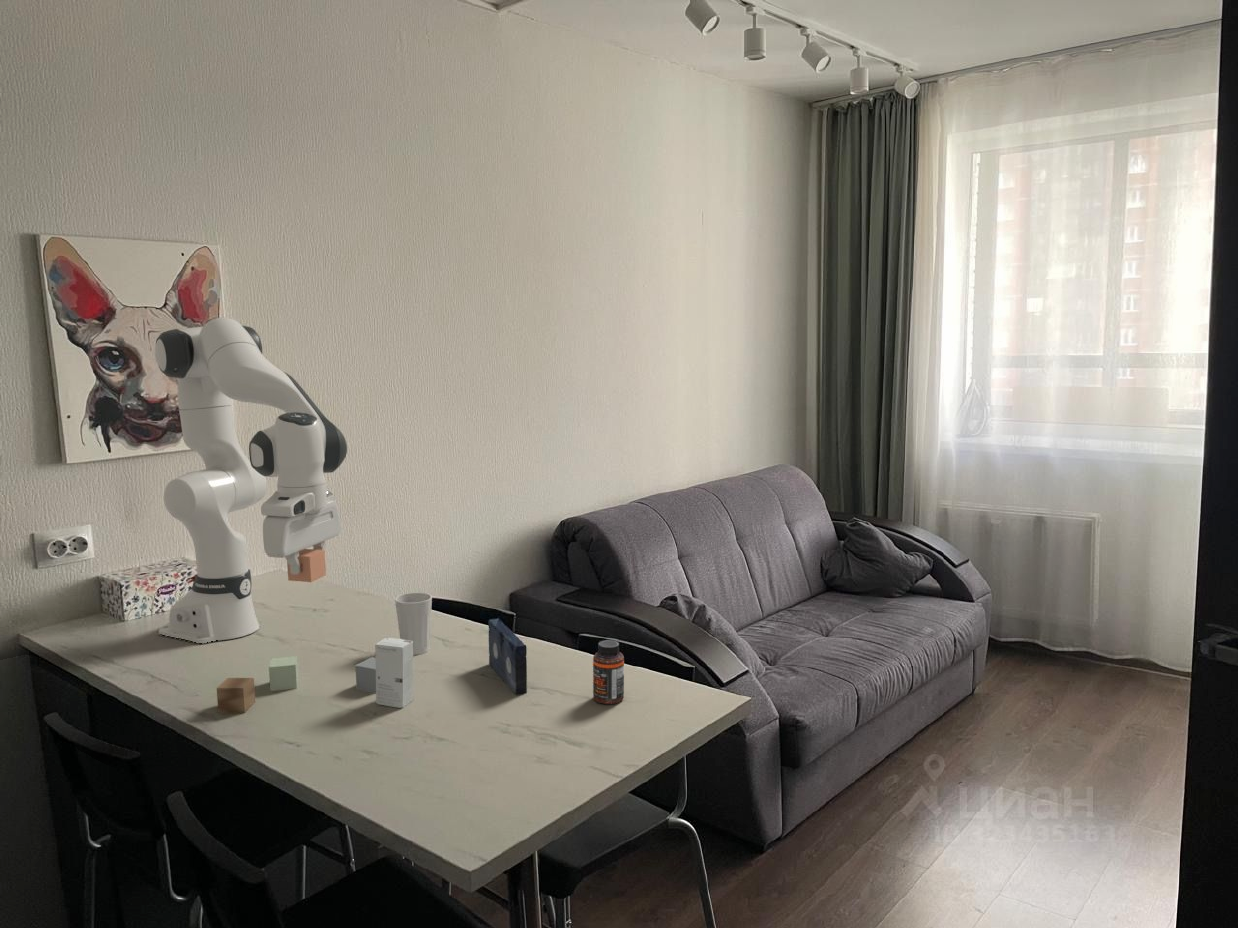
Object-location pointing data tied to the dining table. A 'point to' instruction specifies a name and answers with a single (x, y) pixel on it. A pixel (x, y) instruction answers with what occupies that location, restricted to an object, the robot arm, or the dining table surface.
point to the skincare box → (394, 672)
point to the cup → (415, 619)
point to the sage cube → (283, 673)
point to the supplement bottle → (608, 673)
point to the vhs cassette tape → (508, 656)
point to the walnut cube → (236, 695)
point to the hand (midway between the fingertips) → (306, 569)
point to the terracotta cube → (309, 566)
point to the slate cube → (366, 675)
